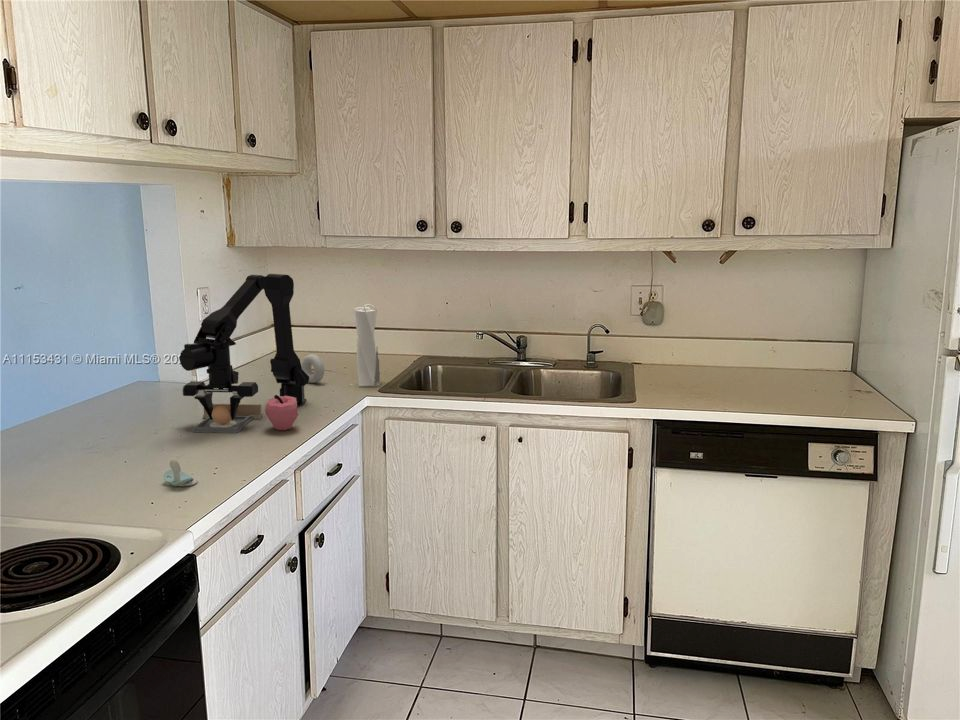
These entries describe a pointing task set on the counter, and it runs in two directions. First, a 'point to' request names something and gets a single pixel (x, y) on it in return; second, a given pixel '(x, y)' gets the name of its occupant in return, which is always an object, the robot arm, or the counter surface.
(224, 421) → the ball
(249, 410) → the tan rectangular bar
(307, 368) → the donut
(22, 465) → the counter surface
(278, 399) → the apple
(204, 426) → the mat
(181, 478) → the pacifier
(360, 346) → the skyscraper
